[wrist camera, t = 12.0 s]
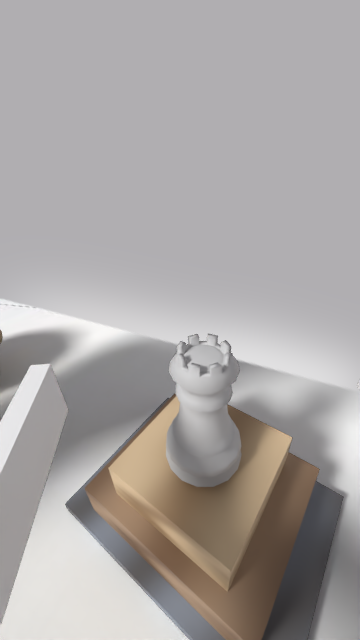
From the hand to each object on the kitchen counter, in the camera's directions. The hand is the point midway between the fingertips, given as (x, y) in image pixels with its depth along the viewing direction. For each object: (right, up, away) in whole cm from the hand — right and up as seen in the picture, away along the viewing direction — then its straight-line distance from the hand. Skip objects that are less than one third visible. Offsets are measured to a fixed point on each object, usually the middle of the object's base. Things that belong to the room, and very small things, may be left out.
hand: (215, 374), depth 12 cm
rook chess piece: (0, -6, +5) cm, 8 cm away
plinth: (0, -12, +9) cm, 15 cm away
